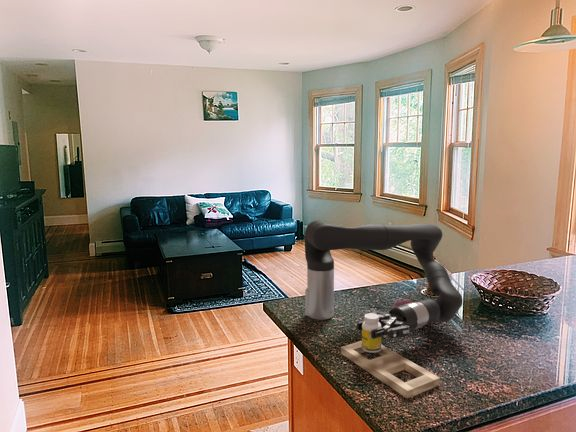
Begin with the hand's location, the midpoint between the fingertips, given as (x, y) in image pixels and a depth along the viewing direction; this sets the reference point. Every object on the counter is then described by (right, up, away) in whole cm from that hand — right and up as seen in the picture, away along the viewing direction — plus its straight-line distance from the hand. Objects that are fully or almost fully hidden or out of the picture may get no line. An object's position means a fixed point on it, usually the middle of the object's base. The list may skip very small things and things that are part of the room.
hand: (364, 330), depth 120 cm
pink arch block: (+20, -4, +31) cm, 37 cm away
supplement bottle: (+2, -6, +2) cm, 7 cm away
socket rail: (+5, -9, -3) cm, 11 cm away
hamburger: (+36, 0, +53) cm, 64 cm away
